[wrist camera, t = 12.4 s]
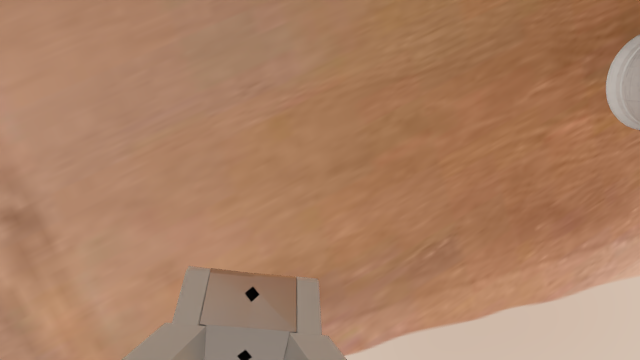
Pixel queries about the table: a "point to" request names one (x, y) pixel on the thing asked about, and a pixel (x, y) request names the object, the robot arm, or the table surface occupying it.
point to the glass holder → (625, 84)
